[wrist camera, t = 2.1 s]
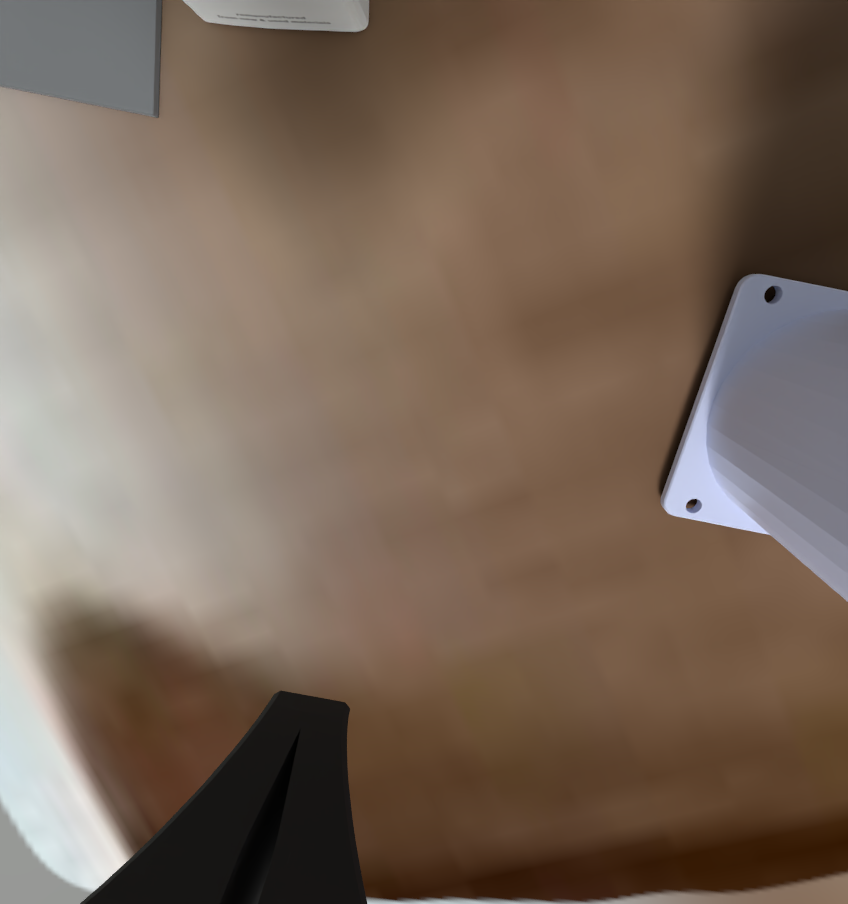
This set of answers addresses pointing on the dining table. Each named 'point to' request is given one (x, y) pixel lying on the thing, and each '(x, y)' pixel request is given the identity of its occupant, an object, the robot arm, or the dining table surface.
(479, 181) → the dining table surface
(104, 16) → the mat
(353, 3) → the ink box
